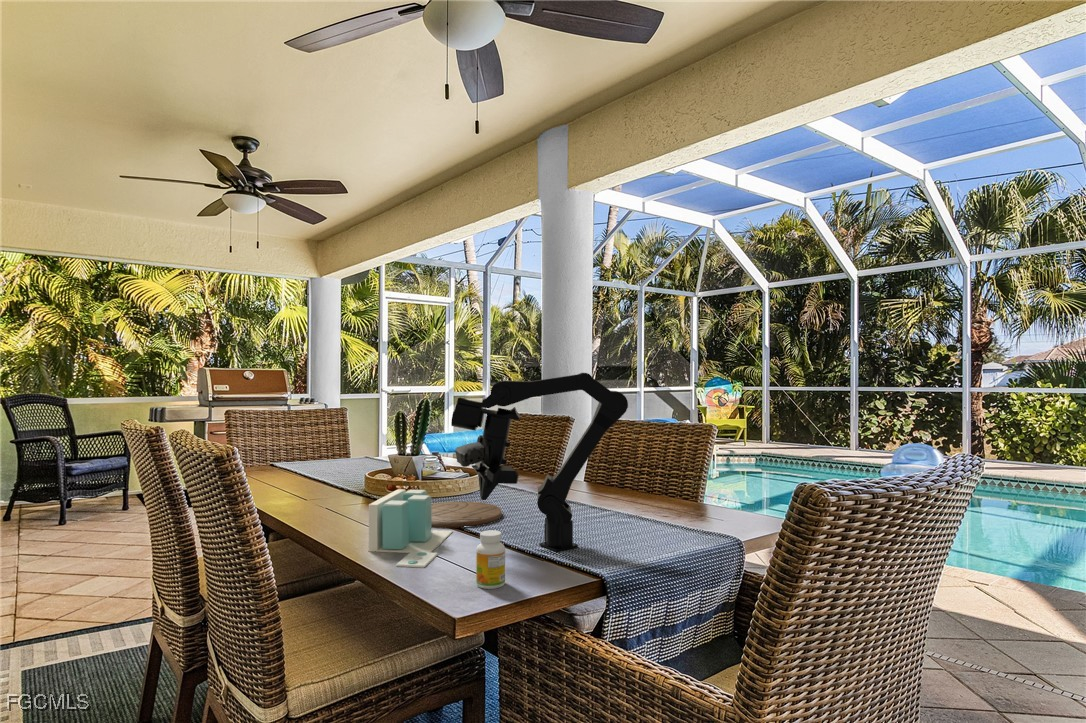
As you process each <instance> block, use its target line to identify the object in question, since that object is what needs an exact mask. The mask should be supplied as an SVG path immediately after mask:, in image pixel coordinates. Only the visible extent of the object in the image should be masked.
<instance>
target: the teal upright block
mask: <svg viewBox="0 0 1086 723" xmlns="http://www.w3.org/2000/svg"><path fill="white" fill-rule="evenodd" d="M407 501H408V502H409V541H417V542H426V541H427V540H428V539H429V538H430V537H431V530H432V527H431V504H432V496H431V495H428V494H427V495H413V496H412V497H410V498H408V500H407Z"/></svg>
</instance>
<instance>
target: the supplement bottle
mask: <svg viewBox="0 0 1086 723" xmlns="http://www.w3.org/2000/svg"><path fill="white" fill-rule="evenodd" d="M479 540H480V543H479V544H478V545H477V546H476V552H475V553H476V557H475V558H476V561H475V562H476V563H475V564H476V567H475V568H476V571H475V572H476V573H475V575H476V578H475V579H476V581H475V582H476V583H475V584H476V586H477V587H479V588H481V589H486V590H493V589H499V588H501V587H503V586H504V585H505V583H506V547H505V545H504V544H503V543H502V542H501V541H502V532H501V531H499V530H495V529H494V530H493V529H491V530H483V531H481V532H480V533H479Z"/></svg>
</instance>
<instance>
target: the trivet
mask: <svg viewBox="0 0 1086 723" xmlns="http://www.w3.org/2000/svg"><path fill="white" fill-rule="evenodd" d="M500 517H501V518H502V509H501V508H500V507H499V506H497V505H495V504H492V503H486V502H481V501H480V502H479V501H444V502H436V503H435V502H434V503H431V528H434V529H460V528H459V527H464V526H475V527H478V526H477V525H480V526H484V525H483V524H486V525H489V524H492V523H495V522H497V521H499V520H500V519H501V518H500ZM498 519H499V520H498ZM496 520H497V521H496ZM494 521H495V522H494ZM491 522H492V523H491Z"/></svg>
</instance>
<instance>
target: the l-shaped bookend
mask: <svg viewBox="0 0 1086 723" xmlns="http://www.w3.org/2000/svg"><path fill="white" fill-rule="evenodd" d="M405 492H407V491H406V489H401V488H399V489H396V490H394V491H392V492H390V493H388V494H386V495H384V496H382V497H381V498H378V499H377V500H375V501H372V502H371V503H369V504H368V552H375V551H376V552H378V553H381V552H382V553H400V554H402V553H404V554H405V553H407V554H409V553H410V552H428V553H433V551H434V550H435V549H436V548H438V546H440V545H441V544H442V543H443V542H444V541H445V540H446V539H447V538H448V537H449V536H451V534H452V533H453V532H454V531H453V530H435V529H433V530H432V529H431V537H430V538H429V539H428V540H427V541H426V542H417V541H409V544H408V545H407V546H405V547H404V548H403V549H383V506H384V504H385V503H387V502H389V501H391V500H395V501H403V494H405ZM376 552H375V553H376Z"/></svg>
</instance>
